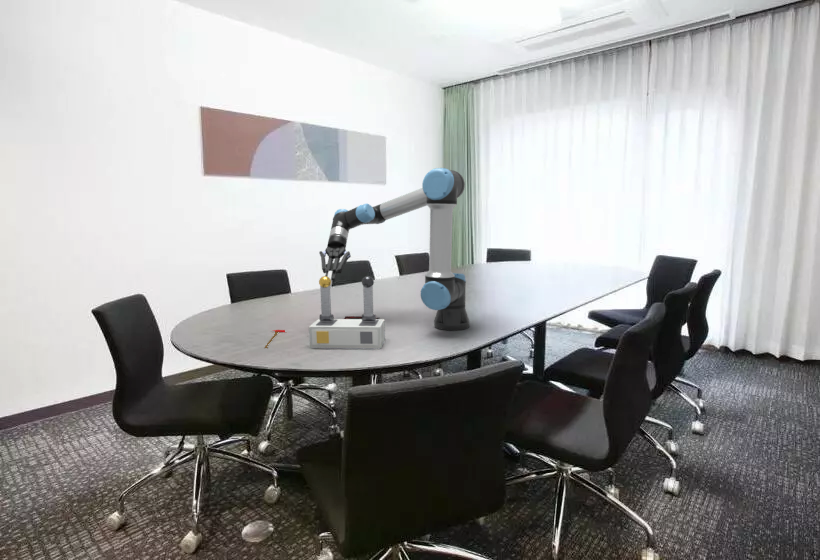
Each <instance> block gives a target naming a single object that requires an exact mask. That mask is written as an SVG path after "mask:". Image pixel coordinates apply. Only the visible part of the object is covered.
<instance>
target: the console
mask: <svg viewBox="0 0 820 560" xmlns="http://www.w3.org/2000/svg"><path fill="white" fill-rule="evenodd" d="M385 326H386V325H385V319H384V318H379V319H376V321H362V319H344V318H334V320H333V321H320V319H319V318H318V319H317V320H315V321H314V322H313V323H311V325H309V326H308V333H309V349H347V350H348V349H352V350H353V349H355V350H356V349H357V350H358V349H361V350H363V349H364V350H367V349H369V350H371V349H372V350H373V349H374V350H376V349H377V350H380V349H381V348H382V346H383V344H384V343H385V341H386V329H385V328H386V327H385ZM384 340H385V341H384Z"/></svg>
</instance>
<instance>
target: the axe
mask: <svg viewBox="0 0 820 560" xmlns="http://www.w3.org/2000/svg"><path fill="white" fill-rule="evenodd" d="M285 330H286V329H274V330H273V331H275V334H274V333H273V335H274V336H271V338H270V339H269V341H268V342H267V343H266V344H267V345H265V346H264V349H265V348H267V349H269V345H270V344H271V343H272V342H273V340H274V339H275V338H276V337H277V336H278V334H279V333H286V332H285ZM278 332H279V333H278ZM277 333H278V334H277ZM275 336H276V337H275ZM274 337H275V338H274ZM273 338H274V339H273ZM272 339H273V340H272ZM271 341H272V342H271ZM270 342H271V343H270ZM269 343H270V344H269ZM268 344H269V345H268ZM267 346H268V347H267Z"/></svg>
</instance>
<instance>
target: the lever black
mask: <svg viewBox="0 0 820 560" xmlns="http://www.w3.org/2000/svg"><path fill="white" fill-rule="evenodd" d="M374 283H375V280H374V278H373V277H372V276H370V275H366V276H364V277H363V278H362V279H361V285H362V291H363V296H362V297H363V314H361V316H362V321H376V318H377V315H376V314H374V292H373V291H374V289H373V287H374ZM373 314H374V315H373Z"/></svg>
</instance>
